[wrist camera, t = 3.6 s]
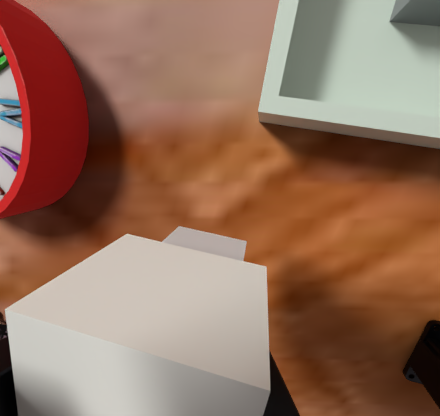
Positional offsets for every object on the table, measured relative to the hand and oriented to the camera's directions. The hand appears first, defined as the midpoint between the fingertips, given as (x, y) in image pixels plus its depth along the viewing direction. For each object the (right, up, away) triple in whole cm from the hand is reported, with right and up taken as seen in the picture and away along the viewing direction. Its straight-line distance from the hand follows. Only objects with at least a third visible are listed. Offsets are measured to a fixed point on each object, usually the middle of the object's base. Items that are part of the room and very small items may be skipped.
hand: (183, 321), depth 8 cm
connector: (+1, +1, +3) cm, 4 cm away
